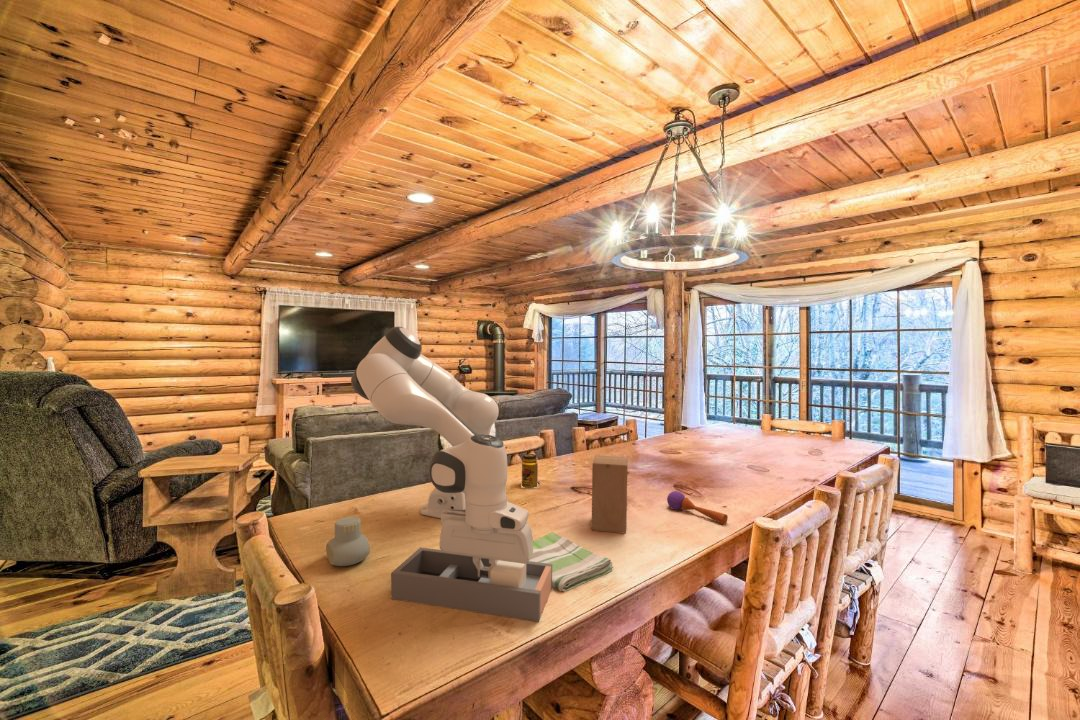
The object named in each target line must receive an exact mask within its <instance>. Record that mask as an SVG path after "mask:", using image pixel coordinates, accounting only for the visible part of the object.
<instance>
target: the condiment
mask: <svg viewBox="0 0 1080 720" xmlns="http://www.w3.org/2000/svg"><path fill="white" fill-rule="evenodd" d="M537 457H538V456H537V454H535V453H525V454H523V456H522V463H521V482H522V486H523V487H525V488H524V489H535V488H534V487H537V483H538V484H539V486H540V483H541V482H540V481H538V479H539V478H538V473H539V471H538V470H539V469H538V468H539V466H538V463H539V462H538V458H537Z"/></svg>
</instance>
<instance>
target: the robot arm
mask: <svg viewBox="0 0 1080 720" xmlns="http://www.w3.org/2000/svg"><path fill="white" fill-rule="evenodd" d="M422 350H423V347H422V342H421V340H420V339H419V337H418V336H417V335H416V334H415V333H414V332H413V331H411V330H409V329H407V328H404V327H402V326H393V327H391V328H389V330H387V331H386V332H385V333H384V336H383V337H381V339H379V340H378V341H377V342H376V343H375V344H374V345H373V346H372V348H370V350H369V351H368V353H367V355H365V357H364V358H362V360H361V361H359V363H358V365H357V366H356V367H357V368H356V369H355V370H354V371H353V374H352V375H351V378H350V384H351V388H352V389H353V390H354V392H355V393H356V394H357V395H359V396H360V397H362V398H363V399H365V400H367V401H369V402H370V403H371V404H372V406H373V407H374V408H375V410H376V411H377V412H378V414H380V416H382V417H383V419H385V420H387V421H388V422H390V423H393V424H396V425H397V424H398V425H404V426H405V425H407V426H416V427H423V428H428V429H431V430H434V431H435V432H436V433H438V434H439V435H441V437H443V438H444V439H445V440H446V441H447V443H449V445H450V447H447V448H443V449H441V450H439V451H437V452H435V453H434V454H433V455H432V457H431V459H430V461H429V465H428V474H429V475H428V476H429V479H430V482H431V484H432V485H433V487H434V488H433V489H432V490H431V492H430V493H429V496H428V501H427V502H426V503H425V504H424V505H422V507H421V508H420V514H421V515H423V516H428V517H432V518H437V519H440V525H441V529H440V535H439V550H441V551H442V552H443V553H448V554H455V555H463V556H470V557H473V563H474V564H475V566H476V568H477V569H478V577H481V578H488V579H490V577H491V570H492V569H493V567H494V566H495V564H496V563H497V561H498V560H500V561H508V562H515V563H523V564H526V563H527V562H528V561H529V560H530V559H531V557H532V555H533V541H534V540H533V531H532V527H531V525H530V524H529V523H528V519H529V516H530V515H529V511H528V510H527V509H525V508H524V507H521V506H519V505H517V504H514V503H512V502H510V501H508V495H507V491H506V485H507V481H508V456H507V450H506V449H507V448H506V446H505V444H504V441H503V440H502V439H501V438H499V437H497V436H494V435H491V433H490V432H491V430H492V427H493V425H494V424H495V422H496V421H497V419H498V417H499V406H498V403H497V402H496V401H495V400H494V399H493V398H492V397H491V396H490V395H488V394H486V393H483V392H479V391H478V392H477V391H474V390H470V389H469V388H468V387H465V386H464V385H463V384H461V382H460V381H458V379H456V377H454V375H453V374H452V373H450V372H449V371H447V370H446V369H445V368H443V367H441V366H440V365H439V364H437V363H436V362H434V361H433V360H431V359H430V358H429V357H426V356H425V355H424V354H422ZM481 558H485V559H489V563H490V564H491V563H492V564H491V566H490V567H486V566H483V563H482V561H481Z"/></svg>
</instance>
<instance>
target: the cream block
mask: <svg viewBox="0 0 1080 720" xmlns="http://www.w3.org/2000/svg"><path fill="white" fill-rule="evenodd" d="M525 581H526V564H523V563H515V562H508V561H500V560H498V562H497V563H496V564H495V566H494V567H493V569H492V570H491V577H490V584H496V585H503V586H511V587H518V588H522V587H523V585H524V583H525Z"/></svg>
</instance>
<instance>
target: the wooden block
mask: <svg viewBox="0 0 1080 720" xmlns="http://www.w3.org/2000/svg"><path fill="white" fill-rule="evenodd" d="M628 459H629V458H628V457H627V456H614V455H600V454H597V455H595V456H594V458H593V461H592V471H591V473H592V475H591V477H592V478H591V479H592V480H591V528H590V529H591V530H592V531H597V532H607V533H619V534H626V533H627V514H628V513H627V512H628V511H627V510H628V508H627V507H628V461H629V460H628Z"/></svg>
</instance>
